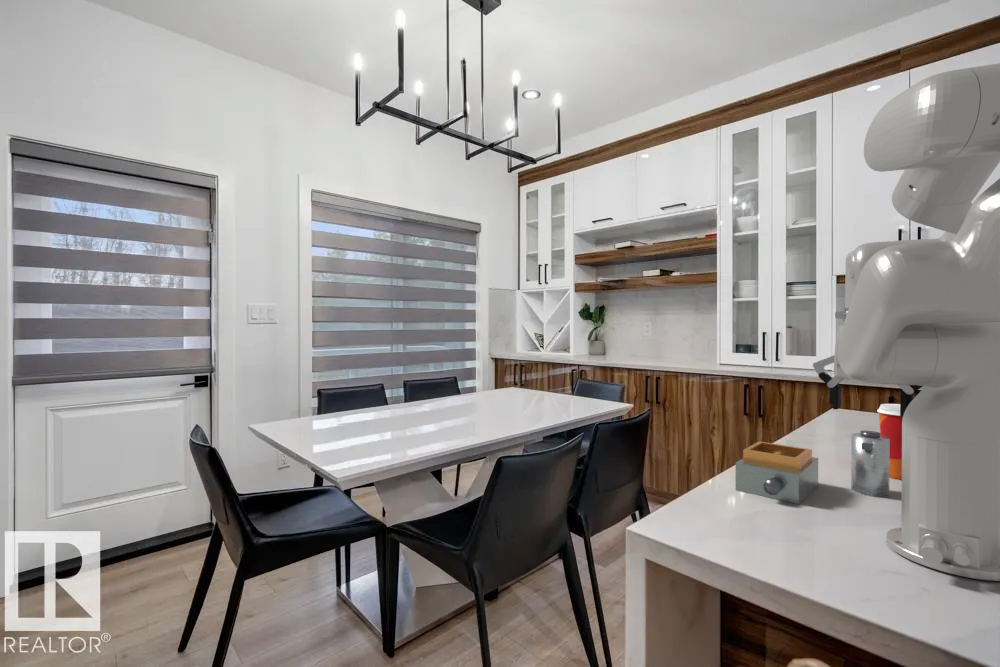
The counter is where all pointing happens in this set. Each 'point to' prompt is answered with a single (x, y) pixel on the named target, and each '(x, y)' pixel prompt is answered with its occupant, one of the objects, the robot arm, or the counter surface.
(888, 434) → the paper cup
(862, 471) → the spout can
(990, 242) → the robot arm
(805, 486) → the box
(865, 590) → the counter surface
